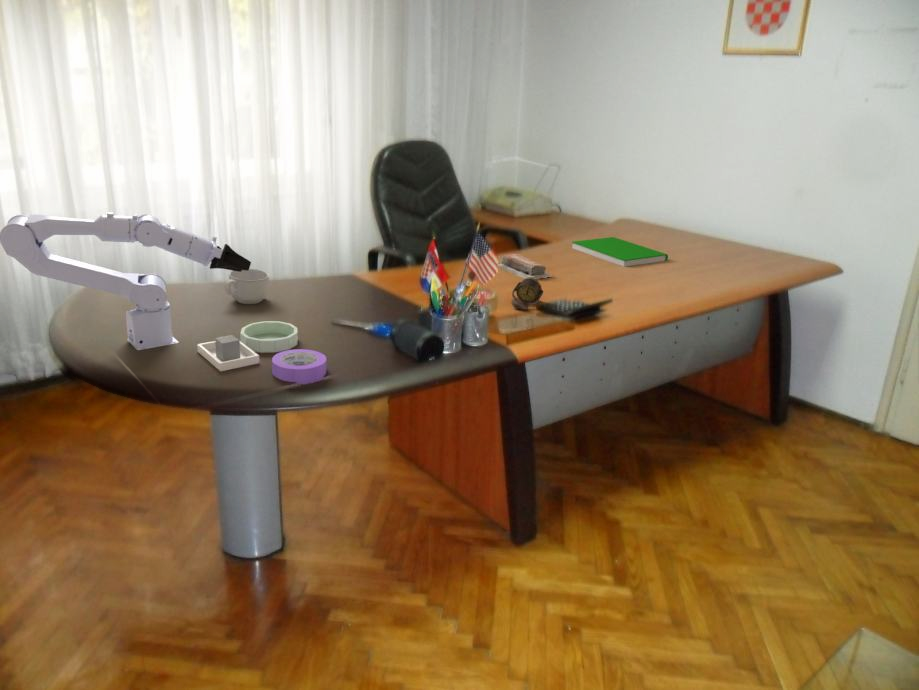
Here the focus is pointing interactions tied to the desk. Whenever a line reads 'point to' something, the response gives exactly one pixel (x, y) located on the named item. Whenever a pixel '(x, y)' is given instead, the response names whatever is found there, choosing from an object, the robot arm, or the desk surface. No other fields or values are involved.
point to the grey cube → (227, 348)
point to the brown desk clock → (526, 293)
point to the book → (619, 251)
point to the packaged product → (523, 267)
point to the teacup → (248, 285)
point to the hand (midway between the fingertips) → (246, 267)
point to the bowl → (269, 336)
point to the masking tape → (302, 374)
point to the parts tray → (245, 359)
